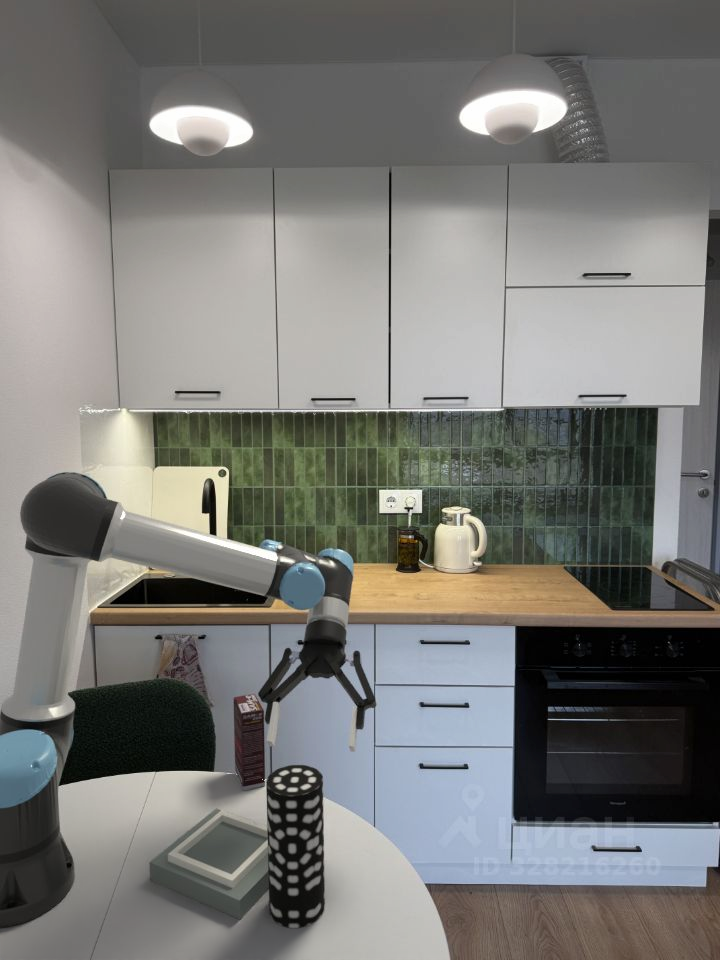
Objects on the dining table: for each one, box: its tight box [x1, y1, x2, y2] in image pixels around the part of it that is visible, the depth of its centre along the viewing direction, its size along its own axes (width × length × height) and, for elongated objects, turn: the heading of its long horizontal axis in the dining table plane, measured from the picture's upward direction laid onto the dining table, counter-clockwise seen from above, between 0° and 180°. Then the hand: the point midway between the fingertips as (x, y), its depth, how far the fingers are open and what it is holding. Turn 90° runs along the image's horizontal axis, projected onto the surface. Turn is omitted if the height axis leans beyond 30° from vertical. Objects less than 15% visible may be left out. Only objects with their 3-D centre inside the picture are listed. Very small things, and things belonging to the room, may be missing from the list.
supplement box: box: [233, 693, 266, 791], centre depth 132 cm, size 9×5×16 cm, turn 22°
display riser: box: [149, 808, 269, 920], centre depth 106 cm, size 18×16×4 cm
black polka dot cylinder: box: [265, 764, 326, 929], centre depth 96 cm, size 8×8×20 cm
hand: (310, 746), depth 106 cm, fingers open, 13 cm apart
